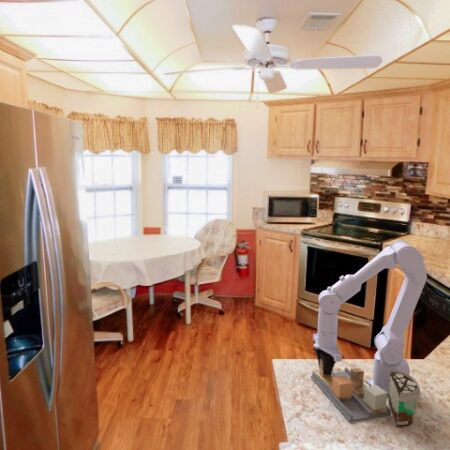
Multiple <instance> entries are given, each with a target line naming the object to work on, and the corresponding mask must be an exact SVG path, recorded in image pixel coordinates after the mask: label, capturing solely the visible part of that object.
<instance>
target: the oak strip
mask: <svg viewBox="0 0 450 450" xmlns="http://www.w3.org/2000/svg"><path fill="white" fill-rule="evenodd" d="M318 368H319V367H318ZM318 371H319V373H316V374H317V375H318V376H319V378H320V379H321V380H322V381H323V382H324V383H325V384H326V385H327V387H328V388H329V389H330V390H331V391H332V379H333V377H334V376H333V375H332V374H331V375H324V373H323V363H322V359H320V368H319V369H318ZM332 392H333V391H332ZM333 393H334V392H333ZM334 395H335V396H336V397H337V398H338V399H339V400H346V399H351V397H344V398H339V397H338V396H337V395H336V394H335V393H334Z"/></svg>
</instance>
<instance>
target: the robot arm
mask: <svg viewBox="0 0 450 450" xmlns="http://www.w3.org/2000/svg"><path fill="white" fill-rule="evenodd" d="M424 261H425V258H424V257H423V255H422V254H421V252H420V251H419V249H417V248H416V247H414V246H412V245H411V244H410V243H409V242H408V241H406V240H402V239H401V240H400V239H398V240H395V241H393V242H392V243H391V244H390V245H389V246H386V247H384V249H383V250H381V251H380V252H378V254H377V255H376V256H375V257H373V258H372V259H371V260H370V261H369V262H367V263H366V264H365V265H364V266H363V267H362V268H360V269H359V270H357V272H355V273H354V274H346V275H345V276H344V275H341V276H340V277H339V280H338V281H336V283H334V284H333V285H331V286H327V288H326V289H325V290H322V291H321V292H320V293H319V295H318V296H317V300H318V301H317V302H318V304H319V307H318V315H317V332H316V333H314V334H312V341H314V342H315V343H313V351H314V352H315V355H316V358H317V361H318V362H317V363H318V368H320V359H322V363H323V373H324V375H331V373H332V370H333V369H334V366H335V364H336V363H337V362H342V360H343V354H342V353H341V351H340V349H339V346H338V343H337V340H338V322H339V319H338V318H339V317H338V312H339V310H340V309H341V305H342V304H344V303H345V302H347V301H348V300H350V299H351V298H352V297H353V296H355V295H356V294H357V293H359V292H361V289H362V284H364V283H365V282H367V281H368V280H369V279H371V278H373V277H374V276H375V275H377V274H379V273H380V272H381V271H383V270H384V269H393V270H394V269H398V266H399V267H400V269H401V270H402V272H403V275H405V276H404V280H403V282H402V285H401V287H400V290H399V292H398V294H397V297H396V300H395V303H394V305H393V307H392V311H391V313H390V315H389V317H388V320H387V323H386V325H384V326H383V327H382V328H381V331H380V332H379V333H377V335H376V336H375V338H374V345H375V347H376V348H377V351H376V352H375V354H374V361H373V375H372V376H373V377H372V378H371V379H366V383H367V384H368V385H369V386H373V385H377V386H378V387H380V388H381V389H383V390H384V391H385V392H387V396H389V381H390V376H389V373H390V370H396V371H400V372H403V373H405V374H408V375H409V376H410V373H411V372H410V366H409V363H408V361H407V360H406V359H405V358H404V348H405V345H406V341H405V340H406V339H405V338H406V337H405V333H406V331H407V329H408V326H409V324H410V321H411V319H412V317H413V314H414V311H415V310H416V307H417V304H418V301H419V299H420V297H421V294H422V292H423V289H424V286H425V285H426V282H427V278H428V276H427V270H426V267H425V262H424ZM397 265H398V266H397ZM333 371H334V370H333Z"/></svg>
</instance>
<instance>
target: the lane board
mask: <svg viewBox="0 0 450 450" xmlns="http://www.w3.org/2000/svg"><path fill="white" fill-rule="evenodd" d="M311 372H312V373H311V374H312V375H310V379H312V380H313V382H314V383H315V384H316V385H317V387H318V388H319V389H320V390H321V391H322V392H323V394H324V395H325V396H326V398H327V399H328V400H329V401H330V402H331V403H332V404H333V406H335V408H336V409H337V411H338V412H339V413H340V414H341V415H342V416H343V417H344V419H345V420H346V421H347V422H348V423H355V422H360V421H367V420H373V419H380V418H387V417H390V416H392V414H391V409H390V408H389V405H388V404H386V408H387V412H385V413H378V414H373V411H372V410H371V409H370V408H369V407H368V406H367V405H366V404H365V403H364V402H363V401H362V399H364V397H361V398H359V397H358V396H357V395H356V394H355V393H354V392H353V391H352V396H351V399H346V400H339V399H338V398H337V397H336V396H335V395H334V393H333V392H332V391H331V390H330V389H329V388H328V387H327V385H326V384H325V383H324V382H323V381H322V380H321V379H320V378H319V376H318V375H317V374H318V373H316V372H315V371H311ZM331 374H332V375H333V376H334V377H337V376H346V377H347V378H348V379H349V380H350V374H351V369H349V368H348V367H346V366H345V368H344V371H338V372H337V371H336V372H335V371H334V370H332V373H331ZM363 386H364V387H365V388H366V387H368V386H367V385H366V384H365V383H364V382H363Z"/></svg>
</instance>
